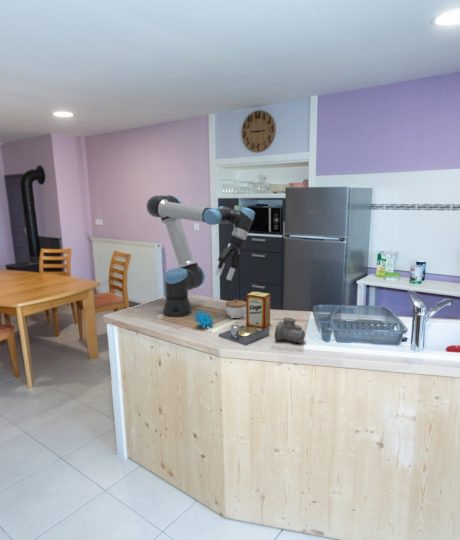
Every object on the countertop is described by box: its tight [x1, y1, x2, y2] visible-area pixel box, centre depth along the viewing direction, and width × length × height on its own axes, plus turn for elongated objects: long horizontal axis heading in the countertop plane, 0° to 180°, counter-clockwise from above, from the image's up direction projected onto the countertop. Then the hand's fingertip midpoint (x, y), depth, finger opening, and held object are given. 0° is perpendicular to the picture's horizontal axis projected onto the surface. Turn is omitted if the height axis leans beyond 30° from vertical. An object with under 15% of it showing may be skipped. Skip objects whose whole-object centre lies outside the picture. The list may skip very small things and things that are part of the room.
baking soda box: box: [245, 291, 271, 330], centre depth 185 cm, size 10×6×16 cm
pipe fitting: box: [274, 316, 306, 344], centre depth 165 cm, size 12×8×10 cm
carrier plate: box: [218, 324, 270, 346], centre depth 172 cm, size 16×16×6 cm
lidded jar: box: [225, 299, 246, 319], centre depth 199 cm, size 11×11×9 cm
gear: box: [194, 309, 215, 329], centre depth 186 cm, size 11×6×10 cm
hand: (223, 277), depth 193 cm, fingers open, 13 cm apart
